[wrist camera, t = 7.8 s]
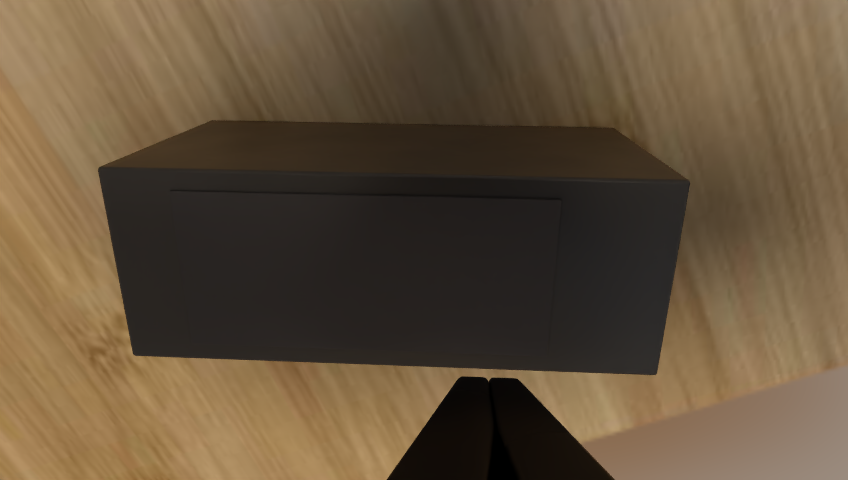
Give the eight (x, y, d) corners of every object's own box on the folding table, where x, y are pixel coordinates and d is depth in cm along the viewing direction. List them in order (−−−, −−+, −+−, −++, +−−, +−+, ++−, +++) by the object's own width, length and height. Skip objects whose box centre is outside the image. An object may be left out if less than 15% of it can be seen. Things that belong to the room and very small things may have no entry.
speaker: (693, 181, 11) (93, 167, 12) (658, 378, 13) (130, 358, 14) (615, 127, 17) (210, 119, 18) (597, 269, 19) (226, 258, 19)
